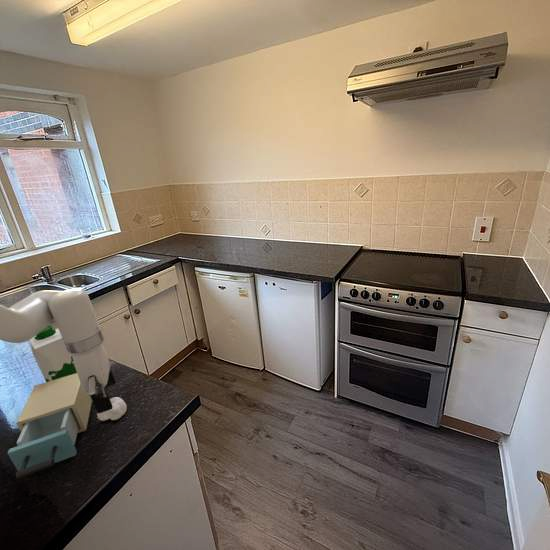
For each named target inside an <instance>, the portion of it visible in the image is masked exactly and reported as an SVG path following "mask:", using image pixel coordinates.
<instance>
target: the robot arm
mask: <svg viewBox="0 0 550 550" xmlns="http://www.w3.org/2000/svg"><path fill="white" fill-rule="evenodd" d="M54 323H55V324H56V326H57V329H59V331H60V334H61V336H62V338H63V341H64V343H65V346H66V348H67V350H68V353H69V354H70V355H73V360H74V364H75V368H76V371H77V374H78V377H79V380H80V383H81V385H82V388H83V391H84V392H86V393H87V392H89V396H90V397H91V400H92V404H93V405H94V407H95V409H96V412H97V413H102V412H105V411H108V410H111V409H112V407H113V406H112V403H111V401H110V399H111V398H110V396H109V394H107V392H106V388H107V387H110V386H114V385H116V383H117V381H116V379H115V376H114V374H113V371H112V370H111V369H112V368H111V363H110V360H109V356H108V354H107V351H106V349H105V347H104V343H105V337H104V333H103V331H102V328H101V325H100V324H99V320H98V318H97V315H96V312H95V310H94V307H93V304H92V301H91V299H90V296H89V294H88V292H87V291H86V290H85V289H83V288H70V289H65V290H51V289H50V290H48V289H47V290H45V289H44V290H38V291H36V292H33V293H30V295H28V296H26V297H25V298H23V299H21V300H19V301H18V302H16V303H13V304H12V305H11V306H9V307H7V306H5V305H3V304H1V303H0V341H3V342H6V343H11V344H21V343H26V342H28V341H29V340H30V339H32V338H34V337H36V335H37V334H38V333H40V332H41V331H42V330H43V329H45V328H46V327H47V326H51V324H54ZM97 384H99V385H97ZM99 389H101V392H99V391H98V390H99Z"/></svg>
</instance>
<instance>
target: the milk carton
mask: <svg viewBox="0 0 550 550" xmlns="http://www.w3.org/2000/svg"><path fill="white" fill-rule="evenodd" d="M28 341H29V346H30V349H31V352H32V355H33V357H34V359H35V362H36V363H37V365H38V368H39V370H40V372H41V374H42V376H43V379H44V381H45V382H49V381H52V380H55V379H59V378H62V377H66V376H69V375H72V374H76V373H77V371H76V368H75V364H74V360H73V355H70V354H69V353H68V350H67V348H66V346H65V343H64V341H63V338H62V336H61V334H60V331H59V329H58V328H56V329H53V327H52V325H48V326H47V327H46V328H45V329H43V330H42V331H41V332H40V333H38V334H37V335H36V336H35V337H33V338H32V339H30V340H28Z"/></svg>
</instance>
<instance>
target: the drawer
mask: <svg viewBox="0 0 550 550" xmlns="http://www.w3.org/2000/svg"><path fill="white" fill-rule="evenodd" d="M78 428H79V423H78V420H77V418H76V416H75V414H74V411H73V409H72V408H69V409H66V410H63V411H60V412H57V413H54V414H51V415H48V416H45V417H42V418H39V419H35V420H32V421H29V422H26V423H25V425H24V428H23V430H22V432H21V431H20V433H19V437H18V438H17V441H16V445H17V446H13V447H12V448H9V449H8V451H7V456H8V457H9V459H10V460H11V462H12V464H13V466H14V467H15V469H16V470H17V471H16V473H15V478H16V479H17V480H20V479H23V478H26V477H29V476H31V475H34V474H36V473H39V472H42V471H44V470H47V469H49V468H52V467H54V466H55V464H56V463H59V462H61V461H64V460H67V459H69V458H72V457H76V455H77V452H78V451H77V450H78V449H76V446H75V445H76V441H77V437H78V434H79V433H78Z"/></svg>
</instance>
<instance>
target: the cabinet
mask: <svg viewBox="0 0 550 550" xmlns="http://www.w3.org/2000/svg"><path fill="white" fill-rule="evenodd" d="M92 404H93V402H92V400H91V397H90V396H89V392H87V393H86V392H84V391H83V388H82V385H81V383H80V380H79V377H78V374H77V373H76V374H72V375H69V376H66V377H62V378H59V379H55V380H52V381H49V382H46V381H45V382H42V383H39V384H35V385H33V388H32V390H31V392H30V394H29V396H28V398H27V400H26V402H25V404H24V407H23V409H22V410H21V412H20V414H19V416H18V418H17V421H16V423H15V424H16V425H17V427H18V428H19V430H20V433H21V432H22V430H23V428H24V425H25V423H26V422H29V421H32V420H35V419H39V418H42V417H45V416H48V415H51V414H54V413H57V412H60V411H63V410H66V409H69V408H72V409H73V411H74V414H75V416H76V418H77V420H78V423H79V428H78V433H77V434H80V433H82V432H85V431H87V428H88V423H89V417H90V414H91V413H90V412H91V409H92V408H91V407H92Z"/></svg>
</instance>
